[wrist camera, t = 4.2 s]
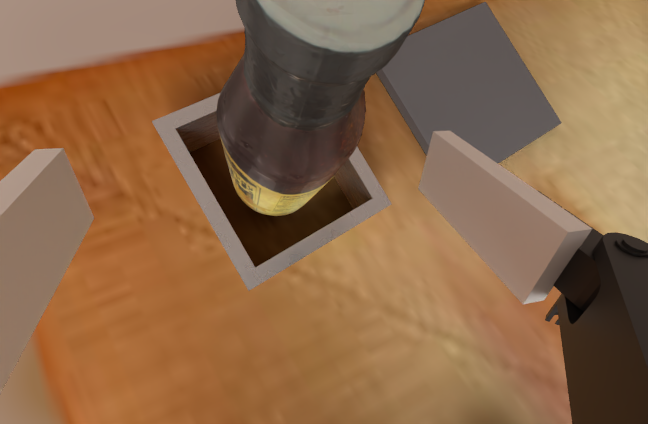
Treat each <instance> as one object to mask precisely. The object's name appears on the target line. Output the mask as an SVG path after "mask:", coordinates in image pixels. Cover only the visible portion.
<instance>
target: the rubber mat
mask: <svg viewBox="0 0 648 424" xmlns="http://www.w3.org/2000/svg"><path fill="white" fill-rule="evenodd" d="M376 73H377V75H378V77H379V78H380V80H381V82H382V83H383V85H384V87H385V88H386V90H387V92H388V93H389V95H390V97H391V98H392V100H393V101H394V103H395V105H396V106H397V108H398V110H399V111H400V113H401V115H402V116H403V118H404V120H405V121H406V123H407V125H408V126H409V128H410V129H411V131H412V133H413V134H414V136H415V138H416V139H417V141H418V143H419V144H420V146H421V148H422V149H423V151H424V153H425V154H426V156H427V153H428V150H429V146H430V142H431V138H432V134H433V131H451V132H453V133H454V134H455V135H457V136H458V137H460V138H461V139H463V140H464V141H466V142H467V143H469V144H470V145H471V146H473V147H474V148H476V149H477V150H479V151H480V152H482V153H483V154H485V155H486V156H487V157H489V158H490V159H492V160H493V161H495V162H496V163H499V162H501V161H503V160H504V159H506V158H507V157H509V156H510V155H512V154H514V153H515V152H517V151H518V150H520V149H521V148H523V147H525V146H526V145H528V144H529V143H531V142H532V141H534V140H536V139H537V138H539V137H540V136H542V135H544V134H545V133H547V132H548V131H550V130H551V129H553V128H555V127H556V126H558V125H559V124H561V121H560V120H559V118H558V116H557V115H556V113H555V112H554V110H553V108H552V107H551V105H550V104H549V102H548V100H547V99H546V97H545V96H544V94H543V92H542V91H541V89H540V88H539V86H538V85H537V83H536V81H535V80H534V78H533V77H532V75H531V73H530V72H529V70H528V69H527V67H526V65H525V64H524V62H523V61H522V59H521V57H520V56H519V54H518V53H517V51H516V49H515V48H514V46H513V45H512V43H511V42H510V40H509V38H508V37H507V35H506V34H505V32H504V30H503V29H502V27H501V26H500V24H499V22H498V21H497V19H496V18H495V16H494V14H493V13H492V11H491V10H490V8H489V7H488V5H487V3H486V2H484V3H481V4H479V5H477V6H475V7H472V8H470V9H468V10H466V11H463V12H461V13H459V14H456V15H454V16H452V17H450V18H447V19H445V20H443V21H441V22H438V23H436V24H434V25H432V26H429V27H427V28H425V29H422V30H420V31H418V32H416V33H413V34H411V35H409V36H407V38H406V39H405V41H404V42H403V44H402V46H401V47H400V49H399V50H398V52H397V53H396V55H395V56H394V57H393V58H392V59H391V60H390V61H389V63H388V64H387V65H386V66H385V67H384V68H382V69H381V70H379V71H377V72H376Z"/></svg>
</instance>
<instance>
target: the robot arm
mask: <svg viewBox="0 0 648 424" xmlns="http://www.w3.org/2000/svg"><path fill="white" fill-rule="evenodd" d="M418 189H419V190H420V191H421V193H422V194H423V195H424V196H425V197H426V198H427V199H428V200H429V201H430V202H431V204H432V205H433V206H434V207H435V208H436V209H437V210H438V211H439V212H440V213H441V215H442V216H443V217H444V218H445V219H446V220H447V221H448V222H449V223H450V224H451V226H452V227H453V228H454V229H455V230H456V231H457V232H458V233H459V234H460V236H461V237H462V238H463V239H464V240H465V241H466V242H467V243H468V244H469V245H470V247H471V248H472V249H473V250H474V251H475V252H476V253H477V254H478V255H479V256H480V258H481V259H482V260H483V261H484V262H485V263H486V264H487V265H488V266H489V267H490V269H491V270H492V271H493V272H494V273H495V274H496V275H497V276H498V277H499V278H500V280H501V281H502V282H503V283H504V284H505V285H506V286H507V287H508V288H509V289H510V291H511V292H512V293H513V294H514V295H515V296H516V297H517V298H518V299H519V300H520V302H521V303H522V304H527V303H532V302H537V301H543V300H544V299H545V298H546V297H547V295H548V294H549V292H550V291H551V289H552V288H553V286H555V287H556V288H557V289H558V290H559V291H560V292H561V293H562V294H561V295H560V297H559V298H558V300H557V301H556V302H555V304H554V305H553V307H552V308H551V309H550V311H549V312H548V314H547V315H546V319H545V320H546V321H550V320H551V319H552V317H553V316H554V315H558V316H559V319H558V320H557V321H556V323H555V324H557V325H560V332H561V339H562V347H563V355H564V362H565V370H566V378H567V385H568V393H569V401H570V408H571V416H572V424H648V243H646V242H644V241H642V240H640V239H638V238H635V237H632V236H629V235H626V234H621V233H607V234H605V235H602V234H600V233H599V232H598V231H596V230H595V229H593V228H592V227H590V226H589V225H587V224H586V223H584V222H583V221H581V220H580V219H579V218H577V217H576V216H574V215H573V214H571V213H570V212H568V211H567V210H565V209H563V208H562V207H561V206H560V205H558V204H557V203H555V202H553V201H552V200H551V199H549V198H548V197H547V196H545V195H544V194H542V193H541V192H539V191H537V190H535V189H534V188H532V187H531V186H530V185H528V184H527V183H525V182H524V181H522V180H521V179H519V178H518V177H516V176H515V175H514V174H512V173H511V172H509V171H508V170H506V169H505V168H503V167H502V166H500V165H499V164H498V163H496V162H495V161H493V160H492V159H490V158H489V157H487V156H486V155H485V154H483V153H482V152H480V151H479V150H477V149H476V148H474V147H473V146H471V145H470V144H469V143H467V142H466V141H464V140H463V139H461V138H460V137H458V136H457V135H455V134H454V133H453V132H451V131H433V134H432V138H431V142H430V146H429V150H428V153H427V157H426V161H425V165H424V169H423V173H422V177H421V180H420V184H419V188H418ZM93 219H94V217H93V214H92V212H91V210H90V208H89V205H88V203H87V201H86V198H85V196H84V194H83V192H82V189H81V187H80V185H79V183H78V180H77V178H76V176H75V174H74V171H73V169H72V167H71V165H70V162H69V160H68V158H67V156H66V153H65V151H64V149H63V148H56V149H35V150H34V151H33V152H32V153H31V154H29V155H28V156H27V157H26V158H25V159H24V160H23V161H22V162H21V163H20V164H19V165H18V166H16V167H15V168H14V169H13V170H12V171H11V172H10V173H9V174H8V175H7V176H6V177H5V178H3V179H2V180H1V181H0V394H1V392H2V390H3V388H4V386H5V384H6V383H7V381H8V379H9V377H10V375H11V373H12V371H13V369H14V368H15V366H16V364H17V362H18V360H19V358H20V356H21V354H22V352H23V351H24V349H25V347H26V345H27V343H28V341H29V339H30V338H31V336H32V334H33V332H34V330H35V328H36V326H37V324H38V323H39V321H40V319H41V317H42V315H43V313H44V311H45V309H46V308H47V306H48V304H49V302H50V300H51V298H52V296H53V294H54V293H55V291H56V289H57V287H58V285H59V283H60V281H61V279H62V278H63V276H64V274H65V272H66V270H67V268H68V266H69V264H70V263H71V261H72V259H73V257H74V255H75V253H76V251H77V249H78V248H79V246H80V244H81V242H82V240H83V238H84V236H85V234H86V233H87V231H88V229H89V227H90V225H91V223H92V221H93Z"/></svg>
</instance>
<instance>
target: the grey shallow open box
mask: <svg viewBox="0 0 648 424" xmlns="http://www.w3.org/2000/svg"><path fill="white" fill-rule="evenodd" d="M219 96H220V93H218V94H216V95H214V96H211V97H209V98H207V99H204V100H202V101H199V102H197V103H195V104H192V105H190V106H187V107H185V108H183V109H180V110H178V111H176V112H173V113H171V114H168V115H166V116H164V117H161V118H159V119H156V120H154V121H152V123H153V124H154V126H155V128H156V130H157V131H158V133H159V135H160V137H161V138H162V140H163V142H164V144H165V145H166V147H167V149H168V151H169V152H170V154H171V156H172V158H173V159H174V161H175V163H176V165H177V166H178V168H179V170H180V171H181V173H182V175H183V177H184V178H185V180H186V182H187V184H188V185H189V187H190V189H191V191H192V192H193V194H194V196H195V198H196V199H197V201H198V203H199V205H200V206H201V208H202V210H203V212H204V213H205V215H206V217H207V219H208V220H209V222H210V224H211V226H212V227H213V229H214V231H215V233H216V234H217V236H218V238H219V240H220V241H221V243H222V245H223V247H224V248H225V250H226V252H227V254H228V255H229V257H230V259H231V261H232V262H233V264H234V266H235V268H236V269H237V271H238V273H239V275H240V276H241V278H242V280H243V282H244V283H245V285H246V287H247V289H248V290H251V289H253V288H254V287H256V286H258V285H259V284H261V283H262V282H264V281H266V280H267V279H269V278H271V277H272V276H274V275H276V274H277V273H279V272H281V271H282V270H284V269H286V268H287V267H289V266H290V265H292V264H294V263H295V262H297V261H299V260H300V259H302V258H304V257H305V256H307V255H309V254H310V253H312V252H314V251H315V250H317V249H318V248H320V247H322V246H323V245H325V244H327V243H328V242H330V241H332V240H333V239H335V238H337V237H338V236H340V235H342V234H343V233H345V232H346V231H348V230H350V229H351V228H353V227H355V226H356V225H358V224H360V223H361V222H363V221H365V220H366V219H368V218H370V217H371V216H373V215H374V214H376V213H378V212H379V211H381V210H383V209H384V208H386V207H388V206H389V205H391V202H390V201H389V199H388V197H387V196H386V194H385V192H384V191H383V189H382V187H381V186H380V184H379V182H378V181H377V179H376V177H375V176H374V174H373V172H372V171H371V169H370V167H369V166H368V164H367V162H366V161H365V159H364V157H363V155H362V154H361V152H360V150H359V149H358V147H356V149H355V150H354V152H353V154H352V155H351V156H350V158H349V159H348V160H347V161H346V162H345V164H344V165H343V166H342V167H341V168H340V170H339V171H338V172H337V174H336V175H335V176H334V178H335V180H336V181H337V183H338V185H339V186H340V188H341V190H342V191H343V193H344V195H345V197H346V198H347V200H348V202H349V203H350V205H351V207H352V208H353V210H352V211H350V212H349V213H347V214H345V215H343V216H342V217H340V218H338V219H337V220H335V221H333V222H332V223H330V224H328V225H327V226H325V227H323V228H321V229H320V230H318V231H316V232H315V233H313V234H311V235H310V236H308V237H306V238H304V239H303V240H301V241H299V242H298V243H296V244H294V245H293V246H291V247H289V248H287V249H286V250H284V251H282V252H281V253H279V254H277V255H276V256H274V257H272V258H271V259H269V260H267V261H265V262H264V263H262V264H260V265H259V266H257V267H255V266H254V265H253V263H252V261H251V259H250V258H249V256H248V254H247V252H246V251H245V249H244V247H243V245H242V244H241V242H240V240H239V238H238V237H237V235H236V233H235V231H234V230H233V228H232V226H231V225H230V223H229V221H228V219H227V218H226V216H225V214H224V212H223V211H222V209H221V207H220V205H219V204H218V202H217V200H216V198H215V197H214V195H213V193H212V191H211V190H210V188H209V186H208V185H207V183H206V181H205V179H204V178H203V176H202V174H201V172H200V171H199V169H198V167H197V165H196V164H195V162H194V160H193V158H192V157H191V155H190V152H193V151H195V150H197V149H199V148H201V147H203V146H206V145H208V144H210V143H212V142H214V141H216V140H219V139H221V138H220V135H219V131H218V126H217V118H216V110H217V103H218V98H219Z"/></svg>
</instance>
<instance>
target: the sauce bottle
mask: <svg viewBox="0 0 648 424" xmlns="http://www.w3.org/2000/svg"><path fill="white" fill-rule="evenodd" d="M424 1H425V0H236V6H237V9H238V13H239V15H240V18H241V20H242V22H243V25H244V27H245V46H246V47H245V52H244V55H243V57H242V58H241V60H240V61H239V63H238V65H237V66H236V68H235V69H234V71H233V73H232V74H231V76H230V77H229V79H228V81H227V82H226V84H225V85H224V87H223V89H222V91H221V93H220V96H219V98H218V103H217V110H216V118H217V126H218V131H219V135H220V138H221V142H222V145H223V149H224V153H225V157H226V160H227V164H228V167H229V171H230V174H231V178H232V181H233V185H234V188H235V190H236V193H237V194H238V196H239V197H240V198H241V200H242V201H243V202H244V203H245V204H246V205H247V206H249V207H250V208H251V209H253V210H255V211H256V212H259V213H261V214H265V215H271V216H281V215H287V214H290V213H294V212H295V211H297V210H298V209H300V208H301V207H302V206H303V205H305V204H306V203H307V202H308V201H309V200H310V199H311V198H312V197H313V196H314V195H315V194H316V193H317V192H318V191H319V190H321V189H322V188H323V187H324V186H325V185H326V184H327V183H328V182H329V181H330V180H331V179H332V178H333V177H334V176H335V175H336V174H337V172H338V171H339V170H340V168H341V167H342V166H343V165H344V164H345V162H346V161H347V160H348V159H349V158H350V156H351V155H352V154H353V152H354V150H355V149H356V147H357V145H358V143H359V140H360V137H361V135H362V130H363V126H364V119H365V112H366V107H365V96H364V95H365V92H364V90H363V89H364V87H365V84H366V83H367V81H368V80H369V78H370V76H371V75H373V74H375V73H376V72H377V71H379V70H381V69H382V68H384V67H385V66H386V65H387V64H388V63H389V61H390V60H391V59H392V58H393V57H394V56H395V55H396V53H397V52H398V50H399V49H400V47H401V46H402V44H403V42H404V41H405V39H406V38H407V36H408V34H409V33H410V31H411V30H412V28H413V26H414V25H415V23H416V22H417V20H418V18H419V16H420V14H421V11H422V8H423V6H424Z"/></svg>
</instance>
